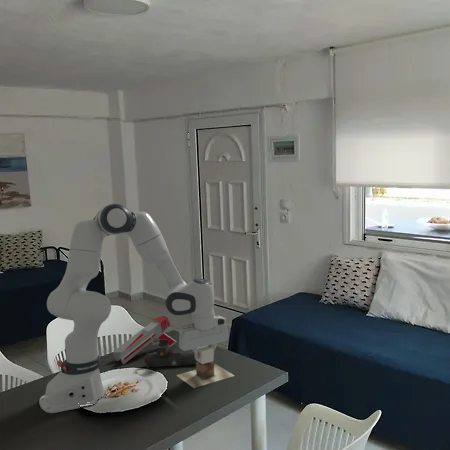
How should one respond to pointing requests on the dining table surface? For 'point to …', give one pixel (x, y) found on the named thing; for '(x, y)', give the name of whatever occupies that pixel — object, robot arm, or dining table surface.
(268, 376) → the dining table surface
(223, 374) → the beige rectangular board
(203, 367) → the walnut block
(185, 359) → the laser sight
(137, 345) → the toy gun
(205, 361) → the cream block
